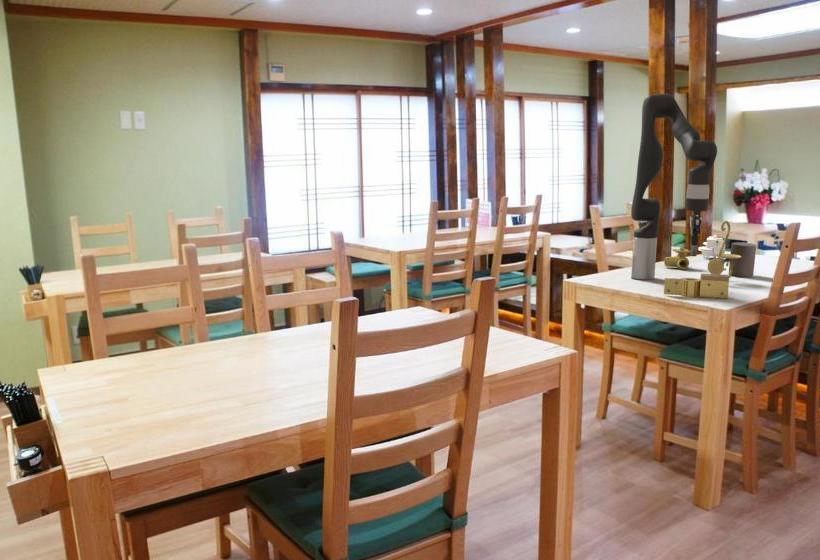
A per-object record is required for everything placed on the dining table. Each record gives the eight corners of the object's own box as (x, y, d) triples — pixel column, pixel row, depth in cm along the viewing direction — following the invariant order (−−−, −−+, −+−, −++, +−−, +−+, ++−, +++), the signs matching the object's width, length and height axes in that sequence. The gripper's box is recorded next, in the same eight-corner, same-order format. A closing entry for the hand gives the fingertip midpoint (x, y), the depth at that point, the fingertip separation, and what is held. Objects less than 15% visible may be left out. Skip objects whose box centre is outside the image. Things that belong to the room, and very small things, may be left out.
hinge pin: (699, 256, 243) (701, 223, 241) (688, 256, 244) (690, 223, 242) (698, 255, 247) (700, 222, 245) (687, 254, 248) (690, 222, 246)
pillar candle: (724, 275, 288) (728, 240, 285) (733, 272, 294) (736, 238, 292) (748, 278, 281) (752, 243, 278) (756, 275, 288) (760, 241, 285)
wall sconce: (725, 285, 266) (730, 222, 261) (702, 282, 273) (707, 220, 269) (743, 281, 274) (749, 220, 269) (721, 278, 281) (726, 218, 277)
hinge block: (663, 295, 248) (665, 274, 246) (663, 292, 254) (664, 271, 253) (727, 299, 241) (729, 277, 240) (725, 295, 248) (727, 274, 246)
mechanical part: (704, 256, 341) (706, 233, 338) (728, 259, 332) (730, 235, 329) (693, 258, 334) (695, 234, 331) (717, 261, 324) (719, 237, 322)
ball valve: (691, 270, 301) (693, 248, 299) (667, 270, 302) (668, 248, 300) (685, 266, 313) (686, 244, 311) (661, 265, 314) (663, 244, 313)
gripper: (711, 198, 234) (707, 247, 237) (706, 196, 247) (703, 242, 250) (687, 198, 236) (684, 247, 240) (684, 195, 249) (681, 242, 253)
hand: (693, 244), depth 245 cm, fingers closed on hinge pin, 2 cm apart
